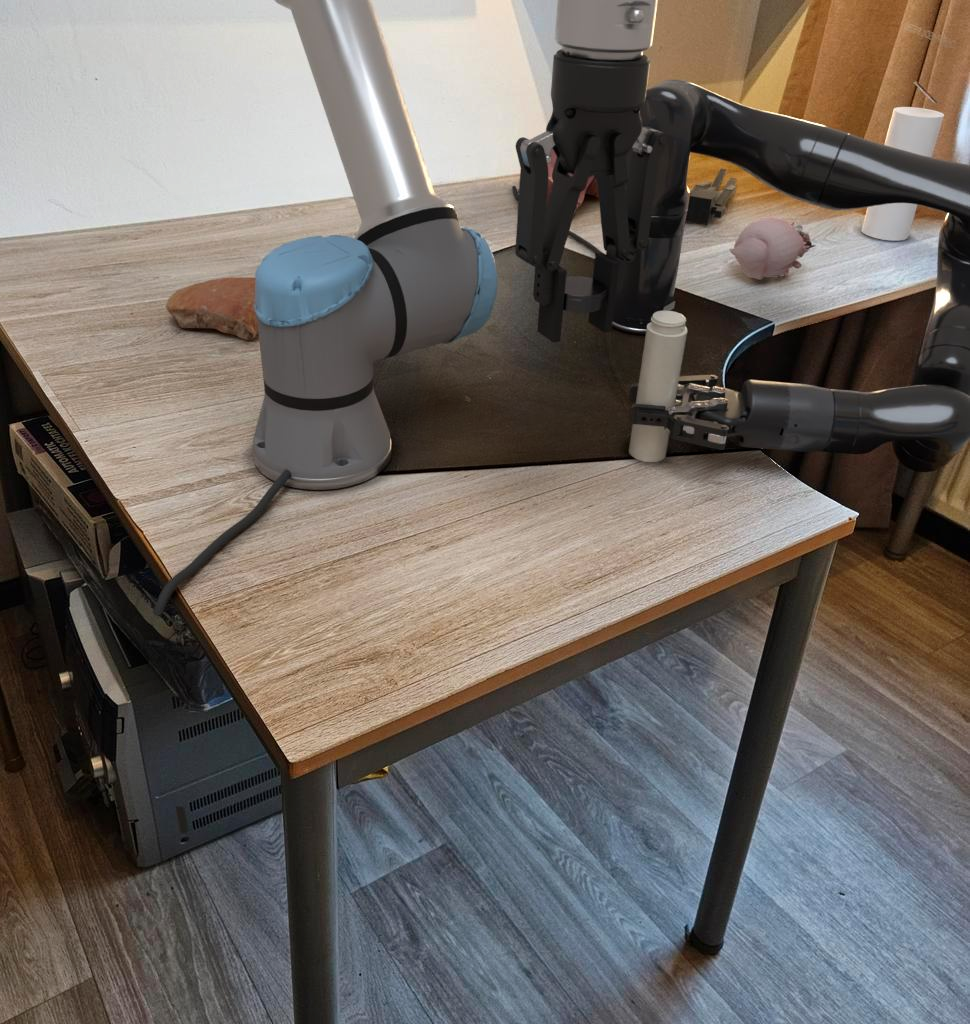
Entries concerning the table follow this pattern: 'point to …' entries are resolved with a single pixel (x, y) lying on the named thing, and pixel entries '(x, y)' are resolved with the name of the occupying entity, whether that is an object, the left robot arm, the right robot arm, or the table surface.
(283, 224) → the table surface
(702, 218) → the toy
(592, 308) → the lid
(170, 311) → the ceramic shard
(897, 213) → the tall white tube
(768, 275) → the toy
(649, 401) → the beige cylinder
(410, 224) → the left robot arm
